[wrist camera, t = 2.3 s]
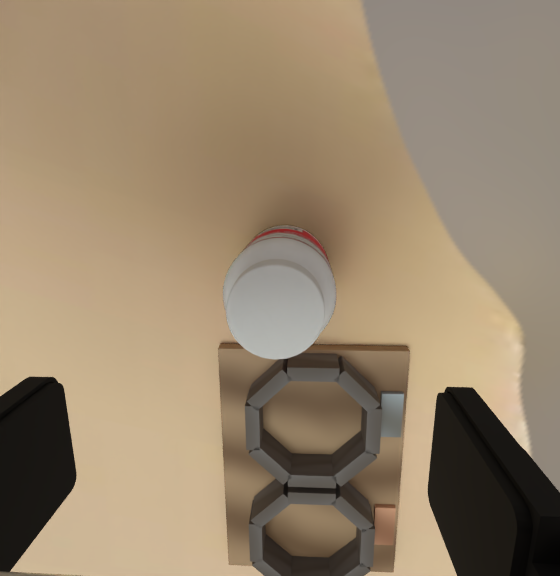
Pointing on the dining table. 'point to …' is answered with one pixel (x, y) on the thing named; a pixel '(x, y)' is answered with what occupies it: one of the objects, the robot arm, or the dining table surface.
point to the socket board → (313, 458)
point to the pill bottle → (279, 293)
